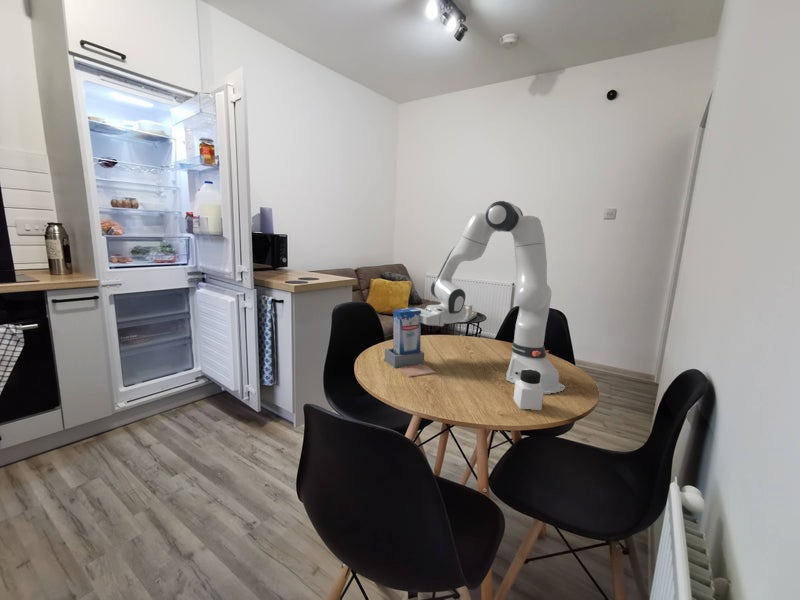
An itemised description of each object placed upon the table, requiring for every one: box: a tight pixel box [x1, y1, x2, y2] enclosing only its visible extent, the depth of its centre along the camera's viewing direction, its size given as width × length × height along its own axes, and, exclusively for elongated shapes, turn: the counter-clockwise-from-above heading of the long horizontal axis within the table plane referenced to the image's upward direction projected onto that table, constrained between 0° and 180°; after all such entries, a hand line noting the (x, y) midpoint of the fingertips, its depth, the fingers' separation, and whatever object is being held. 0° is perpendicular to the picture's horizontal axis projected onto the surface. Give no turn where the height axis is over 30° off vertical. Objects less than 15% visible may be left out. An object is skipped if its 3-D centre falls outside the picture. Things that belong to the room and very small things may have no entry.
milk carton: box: [392, 307, 422, 355], centre depth 148 cm, size 10×6×20 cm, turn 117°
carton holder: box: [383, 348, 425, 369], centre depth 149 cm, size 10×14×5 cm
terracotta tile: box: [397, 363, 436, 378], centre depth 140 cm, size 9×12×1 cm
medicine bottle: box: [512, 369, 545, 411], centre depth 114 cm, size 7×7×12 cm
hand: (405, 316), depth 146 cm, fingers closed on milk carton
